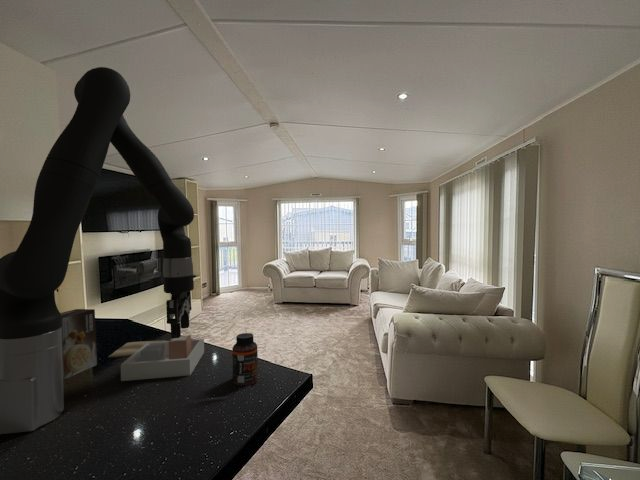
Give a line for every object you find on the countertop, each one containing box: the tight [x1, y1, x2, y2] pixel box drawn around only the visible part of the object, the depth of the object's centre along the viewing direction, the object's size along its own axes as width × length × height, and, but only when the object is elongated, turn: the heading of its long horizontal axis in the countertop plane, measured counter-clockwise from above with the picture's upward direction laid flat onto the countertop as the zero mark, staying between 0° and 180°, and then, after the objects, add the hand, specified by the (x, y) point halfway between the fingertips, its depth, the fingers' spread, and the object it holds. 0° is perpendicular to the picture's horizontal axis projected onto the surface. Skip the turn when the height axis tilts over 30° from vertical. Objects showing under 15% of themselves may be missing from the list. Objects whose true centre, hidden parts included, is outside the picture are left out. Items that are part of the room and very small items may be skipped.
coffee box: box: [60, 308, 98, 380], centre depth 81 cm, size 9×6×16 cm
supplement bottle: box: [231, 332, 259, 386], centre depth 74 cm, size 6×6×11 cm
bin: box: [120, 338, 205, 382], centre depth 84 cm, size 16×16×5 cm
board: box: [107, 339, 167, 359], centre depth 97 cm, size 12×12×1 cm
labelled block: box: [168, 334, 192, 359], centre depth 84 cm, size 4×4×7 cm
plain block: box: [141, 344, 165, 362], centre depth 83 cm, size 4×4×5 cm
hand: (180, 332), depth 85 cm, fingers open, 8 cm apart
